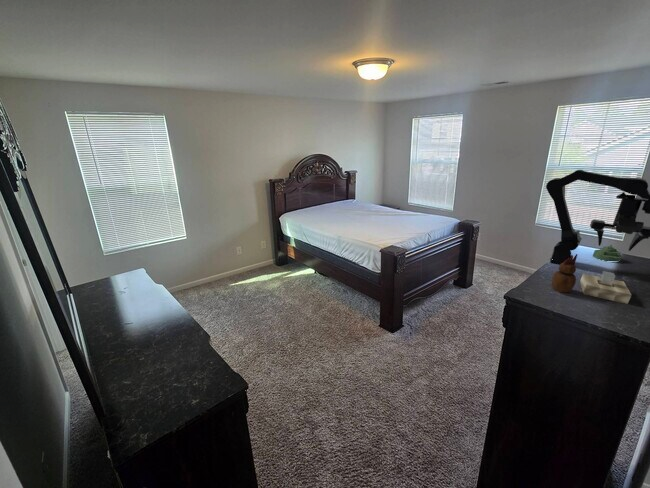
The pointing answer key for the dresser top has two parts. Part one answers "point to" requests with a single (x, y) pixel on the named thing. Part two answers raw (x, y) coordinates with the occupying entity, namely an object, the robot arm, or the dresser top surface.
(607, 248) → the decorative artifact
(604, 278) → the pin
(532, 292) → the dresser top surface
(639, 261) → the dresser top surface
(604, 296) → the hole block
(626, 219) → the robot arm
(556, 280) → the wooden figurine
